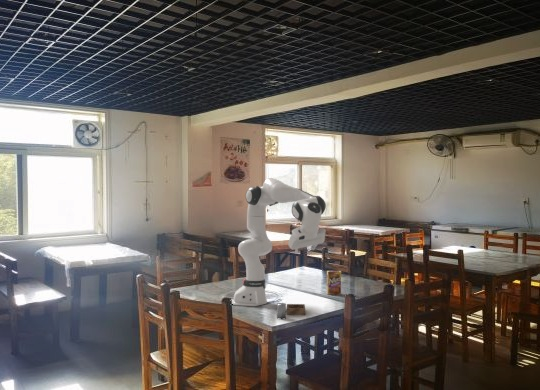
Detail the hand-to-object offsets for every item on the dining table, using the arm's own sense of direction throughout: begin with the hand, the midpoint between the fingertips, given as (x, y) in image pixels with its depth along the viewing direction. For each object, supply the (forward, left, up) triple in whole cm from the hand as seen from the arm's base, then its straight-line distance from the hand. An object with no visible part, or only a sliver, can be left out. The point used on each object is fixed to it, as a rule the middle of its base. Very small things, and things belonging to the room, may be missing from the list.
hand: (304, 251), depth 250 cm
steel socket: (-12, 0, -36) cm, 38 cm away
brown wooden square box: (-4, +11, -36) cm, 38 cm away
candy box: (+22, +58, -36) cm, 72 cm away
